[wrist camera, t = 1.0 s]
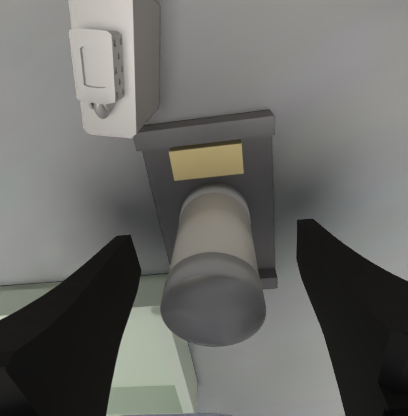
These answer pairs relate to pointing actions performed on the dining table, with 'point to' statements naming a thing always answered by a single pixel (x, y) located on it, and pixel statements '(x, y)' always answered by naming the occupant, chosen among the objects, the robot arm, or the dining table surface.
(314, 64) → the dining table surface
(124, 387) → the tray
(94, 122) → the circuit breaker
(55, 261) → the dining table surface
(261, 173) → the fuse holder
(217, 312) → the fuse
